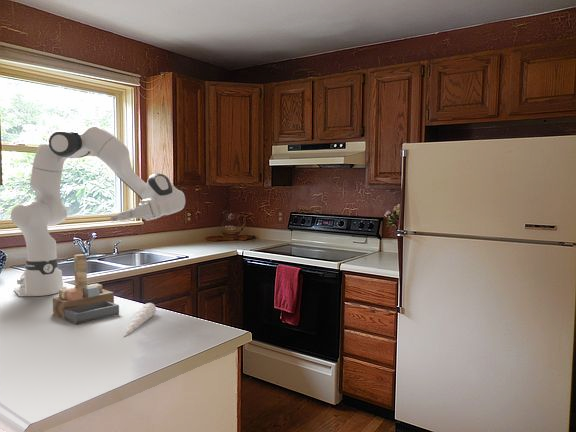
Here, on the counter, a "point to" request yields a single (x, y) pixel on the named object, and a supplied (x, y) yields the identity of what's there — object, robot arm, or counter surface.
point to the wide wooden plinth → (79, 302)
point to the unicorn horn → (141, 317)
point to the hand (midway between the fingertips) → (114, 218)
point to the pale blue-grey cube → (90, 291)
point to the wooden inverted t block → (79, 275)
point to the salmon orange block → (74, 294)
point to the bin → (91, 312)
